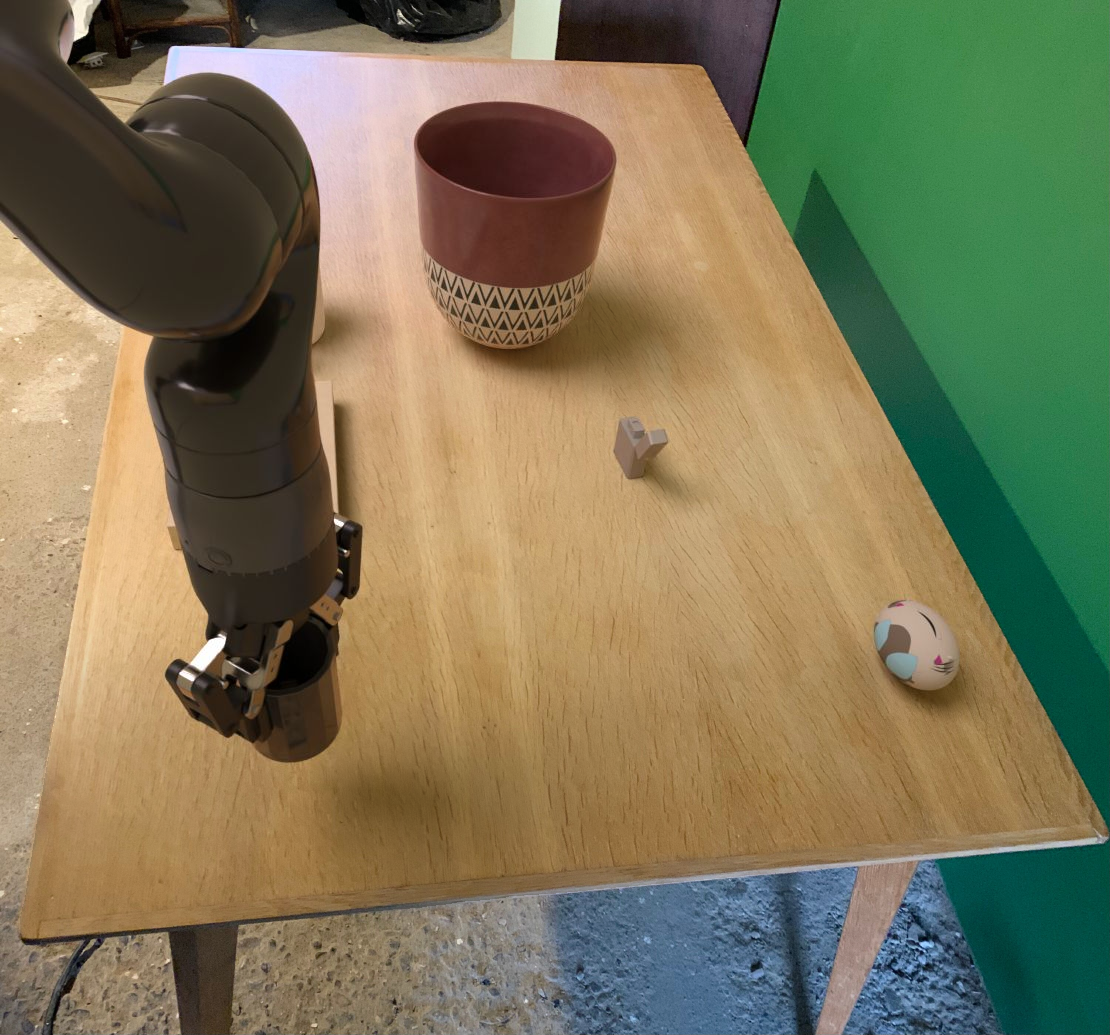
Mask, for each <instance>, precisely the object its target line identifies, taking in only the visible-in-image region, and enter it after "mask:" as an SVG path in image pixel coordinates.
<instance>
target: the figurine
mask: <svg viewBox="0 0 1110 1035" xmlns="http://www.w3.org/2000/svg"><path fill="white" fill-rule="evenodd" d="M875 618H876V619H875V622H874V627H873V639H874V645H875V649H876V651H877V653H878V656H879V659H881V661H882V663H883V664H884V666H885V667H886V669H887V670H888V672H889V673H890V675H893V676H894V677H895V678H896V679H898V680H899V681H900V682H902V683H903V684H905V685H907V686H909V687H911V688H914V689H917V690H921V691H935V690H936V691H937V690H940V689H942V688H945V687H946V686H947V685H950V683H951V682H952V681H953V680H954V679H955V677H956V675H957V673H958V671H959V669H960V661H961V653H960V647H959V644H958V641H957V638H956V635H955V633H954V632H953V629H952V628H951V627H950V624H948V623H947V621H946V620H945V619H944V618H943V617H942V616H941V615H940V614H939V612H937V611H936V610H935V609H933V608H931V607H929V606H928V605H926V604H925V603H921V602H919V601H916V600H910V597H909V596H907V597H906V599H901V600H900V599H899V600H895V601H892V602H890V603H888V604H886V606H884V607H883V608H882V609H881V610H880V612H879V613H878V614H877V616H876V617H875Z"/></svg>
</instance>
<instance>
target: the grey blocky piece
mask: <svg viewBox="0 0 1110 1035" xmlns="http://www.w3.org/2000/svg"><path fill="white" fill-rule="evenodd" d="M617 426H618V427H617V431H616V437H615V441H614V446H613V454H614V456H615V458H616V460H617V462H618V464H619V466H620V468H621V470H622V472H623V474H624V476H625V477H626V479H628V480H629V479H636V478H642V477H643V475H644V473H645V468H646V464H647V460H648V459H653V458H656V457H657V456H658V454H659V453H661V451H663V449H664V448H665V447H666V446H667V445H668V444H669V439H668V435H667V433H666V429H665V428H659V429H652V430H648V431H646V429H645V427H644V425H643V423H642V421H641V419H640V418H639V417H636V416H634V415H633V416H627V417H620V419H619V421H618V425H617Z"/></svg>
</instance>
